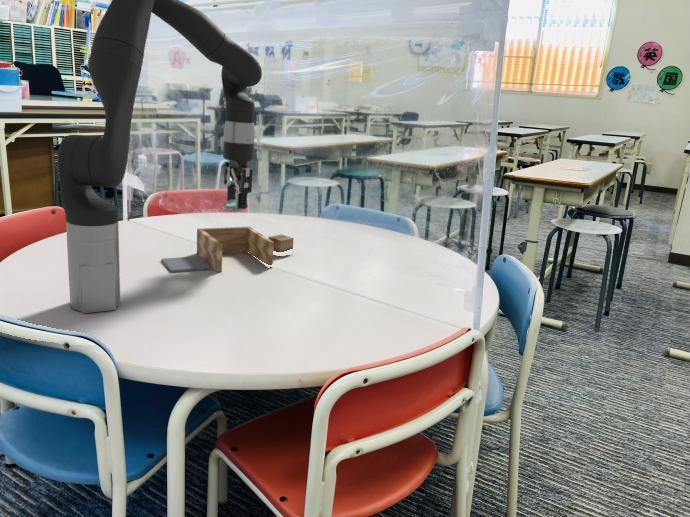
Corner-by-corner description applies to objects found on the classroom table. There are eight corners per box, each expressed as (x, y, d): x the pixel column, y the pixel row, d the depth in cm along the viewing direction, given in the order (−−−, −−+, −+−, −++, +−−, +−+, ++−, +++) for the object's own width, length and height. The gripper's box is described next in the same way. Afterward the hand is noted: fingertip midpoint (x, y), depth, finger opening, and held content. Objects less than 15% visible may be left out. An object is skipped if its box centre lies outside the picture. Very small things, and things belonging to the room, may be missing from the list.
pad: (211, 269, 138) (211, 267, 138) (171, 272, 133) (171, 270, 133) (199, 258, 146) (199, 256, 146) (161, 260, 141) (161, 258, 141)
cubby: (272, 267, 144) (273, 242, 142) (217, 272, 136) (217, 245, 134) (248, 250, 158) (249, 226, 156) (196, 253, 150) (197, 228, 148)
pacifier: (228, 214, 136) (250, 213, 139) (228, 189, 134) (251, 188, 137) (218, 208, 142) (239, 207, 145) (217, 184, 140) (240, 184, 143)
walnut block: (292, 255, 158) (293, 238, 156) (280, 257, 154) (281, 240, 152) (280, 250, 161) (281, 234, 159) (267, 253, 157) (268, 236, 155)
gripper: (264, 144, 132) (260, 211, 137) (243, 138, 144) (240, 200, 148) (234, 142, 128) (231, 211, 133) (215, 137, 140) (213, 200, 144)
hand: (236, 205), depth 141 cm, fingers closed on pacifier, 7 cm apart
